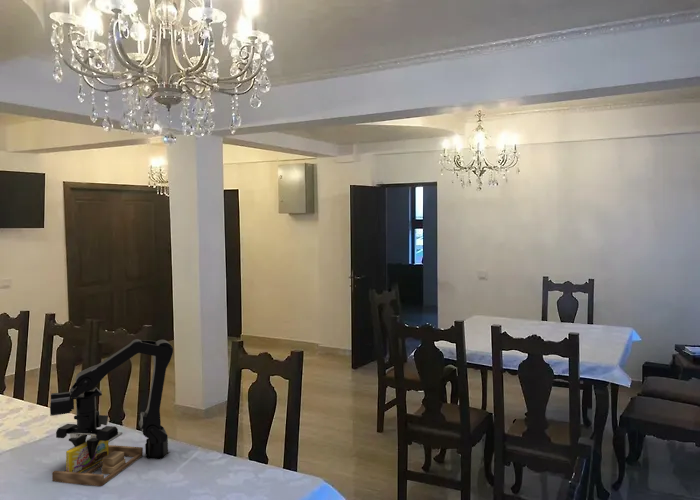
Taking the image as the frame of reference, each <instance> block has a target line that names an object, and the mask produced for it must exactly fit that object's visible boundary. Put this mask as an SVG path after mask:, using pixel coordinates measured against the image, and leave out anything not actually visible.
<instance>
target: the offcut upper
mask: <svg viewBox="0 0 700 500" xmlns="http://www.w3.org/2000/svg"><path fill="white" fill-rule="evenodd" d="M124 459H125V456H124V452H121V451H113V452H112V453H110V454H109V455H107V456H106V457H104V458H103V466H106V467H114V466H115V465H117V464H118V463H120V462H121V461H123V460H124ZM103 466H102V467H103Z"/></svg>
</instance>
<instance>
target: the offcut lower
mask: <svg viewBox="0 0 700 500" xmlns="http://www.w3.org/2000/svg"><path fill="white" fill-rule="evenodd" d="M126 462H127V461H126V458H124V460H123V461H121V462H120V463H118V464H117V465H115V466H114V467H106V466H102V467H101V474H103V475H110V474H111V473H112V472H114V471H115V470H117V469H118V468H119V467H121V466H122V465H124V464H125V463H126Z"/></svg>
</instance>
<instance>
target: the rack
mask: <svg viewBox="0 0 700 500" xmlns="http://www.w3.org/2000/svg"><path fill="white" fill-rule="evenodd" d="M143 449H144V447H143V446H142V447H141V446H128V445H116V444H115V445H113V444H108V455H109V454H110V453H112V452H113V451H121V452H124V457H128V458H129V457H130V459H129V460H128V461H126V463H125V464H124V465H122V466H121V467H119V468H118V469H117V470H115V471H114V472H112V473H111V474H107V476H105V474H102V473H101V474H100V473H95V472H96V471H98V470H99V469H100V468H101V469H102V467H103V461H101V462H99V463H98V464H96V465H94V466H92V467H91V468H89V470H87V471H85V472H80V473H78V472H66V470H64V471H63V470H54V471H52V472H51V477H52V478H51V479H52V482H56V483H57V482H58V483H63V484H64V483H66V484H73V485H83V486H85V485H86V486H95V487H96V486H97V487H103V486H104V485H105V484H107V483H108V482H109V481H111V480H112V479H113V478H115V477H116V476H117V475H118V474H121V473H122V472H123V471H124V470H125V469H127V468H128V467H129V466H131V465H133V463H135V462H136V461H138V460H139V459H141V458H142V457H143V453H144V452H143V451H144V450H143Z"/></svg>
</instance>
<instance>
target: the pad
mask: <svg viewBox="0 0 700 500" xmlns="http://www.w3.org/2000/svg"><path fill="white" fill-rule="evenodd" d="M122 434H123V431H118V435H116V436H115V437H113V438H112V439H110V440H108V443H110V442H112V441H114V440H115V439H117V438H118V437H120V436H121V435H122ZM89 439H91V436H89V437H87V438H86V442H87V440H89ZM72 448H75V446H74V445H73V446H72V447H69V449H68V450H70V449H72Z"/></svg>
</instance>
